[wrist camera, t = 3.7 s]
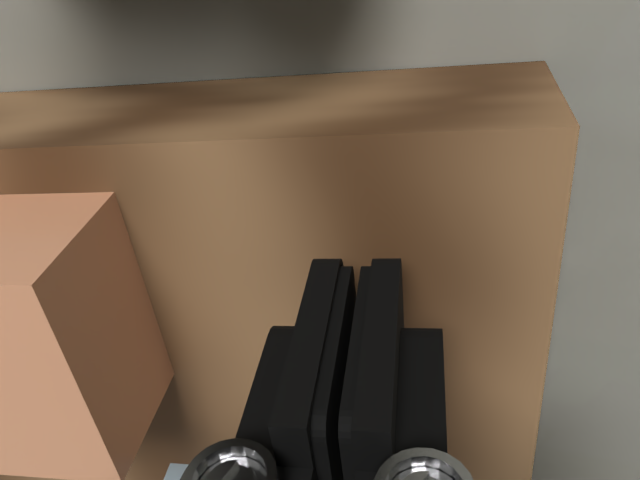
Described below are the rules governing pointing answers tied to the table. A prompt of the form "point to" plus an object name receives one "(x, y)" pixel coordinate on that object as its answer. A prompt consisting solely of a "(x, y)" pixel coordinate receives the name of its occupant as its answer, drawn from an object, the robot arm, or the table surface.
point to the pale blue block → (175, 471)
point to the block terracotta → (74, 339)
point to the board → (326, 225)
